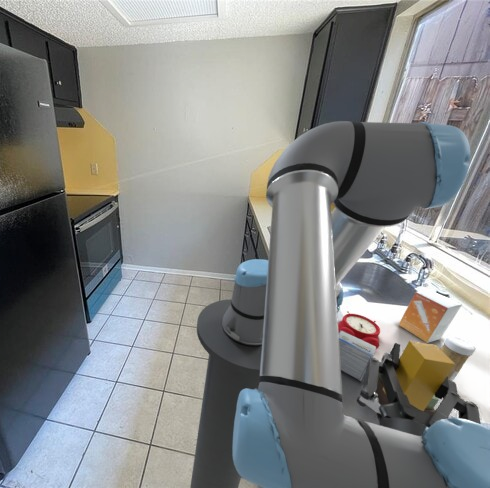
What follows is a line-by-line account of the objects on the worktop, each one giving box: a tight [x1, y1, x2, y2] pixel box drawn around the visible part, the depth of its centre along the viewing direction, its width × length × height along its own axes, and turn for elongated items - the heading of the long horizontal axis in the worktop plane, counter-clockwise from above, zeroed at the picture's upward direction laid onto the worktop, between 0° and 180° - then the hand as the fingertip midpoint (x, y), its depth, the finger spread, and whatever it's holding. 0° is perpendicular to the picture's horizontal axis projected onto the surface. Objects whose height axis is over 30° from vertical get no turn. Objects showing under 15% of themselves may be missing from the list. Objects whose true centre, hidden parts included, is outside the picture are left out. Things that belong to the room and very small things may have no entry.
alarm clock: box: [338, 311, 381, 350], centre depth 76 cm, size 10×6×15 cm
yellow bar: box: [383, 340, 455, 411], centre depth 44 cm, size 4×4×12 cm
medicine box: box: [339, 331, 377, 382], centre depth 65 cm, size 8×4×9 cm, turn 44°
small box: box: [398, 288, 463, 344], centre depth 77 cm, size 8×6×13 cm
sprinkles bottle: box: [440, 334, 477, 382], centre depth 61 cm, size 5×5×14 cm
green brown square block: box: [375, 372, 440, 415], centre depth 58 cm, size 8×8×6 cm
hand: (416, 358), depth 47 cm, fingers closed on yellow bar, 5 cm apart
